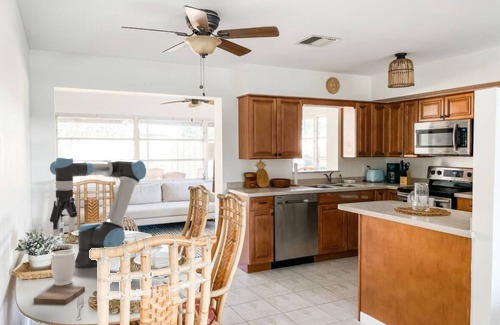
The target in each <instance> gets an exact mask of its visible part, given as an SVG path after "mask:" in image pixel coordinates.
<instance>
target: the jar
mask: <svg viewBox="0 0 500 325" xmlns="http://www.w3.org/2000/svg"><path fill="white" fill-rule="evenodd" d="M75 255H76V250H73V249H62V250H56V251H53V252H52V253H51V257H52V259H51V266H50V268H51V272H52V278H53V280H54V281H53V285H54V286H55V285H60V286H68V285H70V284H72V283H73V282H74V281H73V277H74V275H75V269H76V266H75V260H76V256H75Z"/></svg>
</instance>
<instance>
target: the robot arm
mask: <svg viewBox="0 0 500 325" xmlns="http://www.w3.org/2000/svg"><path fill="white" fill-rule="evenodd" d="M49 171H50V172H51V174H52V175H54V176H55V198H56V199H58V200H54V201H53V207H52V212H51V215H50V218H49V222H50V223H52V225H53V226H52V237H60V235H61V234H60V226H61V225H60V218H61V216H62V214H63V211H64V210H65V211H66V213H67V214H68V216H69V217H68V231H75V229H76V228H75V224H76V222H75V221H76V219H75V218H77V217H78V211H77V208H76V203H75V198H74V197H73V196H74V190H73V188H74V181H73V180H74V177H87V176H103V177H105V178H106V177H109V178H116V179H119V182H120V183H119V185H118V187H117V191H116V192H115V195H114V199H113V200H112V204H111V206H110V210H109V212H108V214H107V218H106V219H105V220H104V221H102V223H101V222H92V223H91V222H90V223H86V224H82V225H80V226H79V227H78V233H77V236H78V252H77V255H76V256H75V268H84V269H86V268H95V267H98V266H97V261H96V260H91V259H90V258H89V250H90V249H91V248H101V249H105V248H104V247H115V246H120V245H122V244H124V241H125V238H126V237H125V236H126V235H125V234H126V233H125V230H124V225H123V222H124V218H125V216H126V212H127V211H128V208H129V207H128V206H129V205H130V201H131V198H132V195H133V192H134V190H135V186H137V185H139V183H140V181H141V180H144V178H146V175H147V167H146V164H145V163H144V162H143V161H142V160H139V159H115V160H104V161H86V160H82V161H81V160H75V161H74V159H73V158H72V157H57V158H56V160H53V161H52V162H51V164H50V165H49ZM120 247H121V246H120Z"/></svg>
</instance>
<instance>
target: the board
mask: <svg viewBox="0 0 500 325" xmlns="http://www.w3.org/2000/svg"><path fill="white" fill-rule="evenodd" d="M85 291H86V286H84V285H83V286H80V285H62V286H60V285H54V286H51V287H50V288H49V289H47V290H45V291H43V292H41V293H40V294H39V295H37V296H35V297H33V304H50V305H67V304H68V303H70V302H71V301H73V300H74V299H76V298H77V297H78V296H80V295H81V294H82V293H84V292H85Z"/></svg>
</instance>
